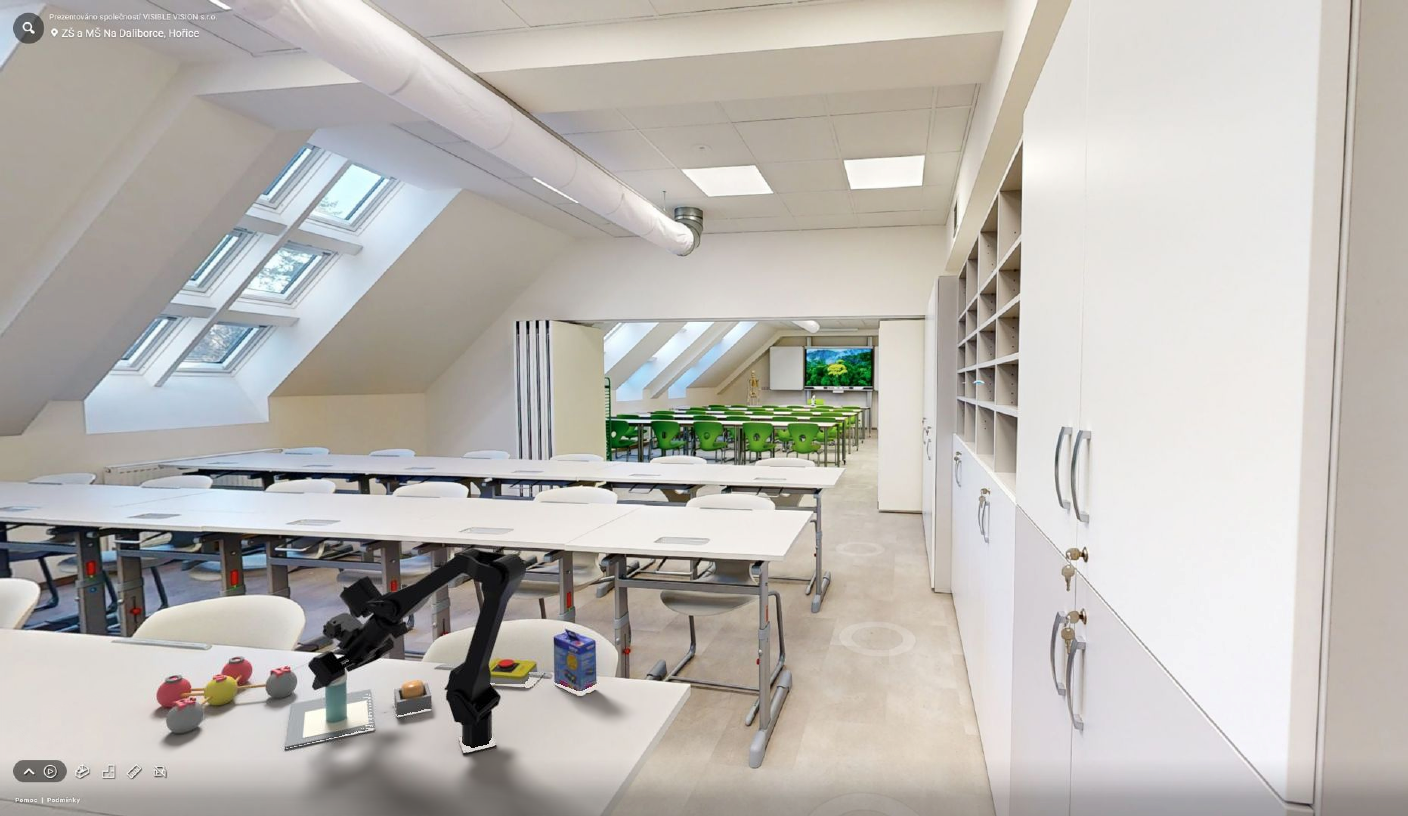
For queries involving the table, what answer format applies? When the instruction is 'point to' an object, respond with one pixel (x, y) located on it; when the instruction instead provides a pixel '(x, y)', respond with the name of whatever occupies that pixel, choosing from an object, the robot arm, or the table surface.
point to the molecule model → (216, 692)
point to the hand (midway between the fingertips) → (331, 678)
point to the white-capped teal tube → (336, 700)
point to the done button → (412, 689)
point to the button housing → (412, 701)
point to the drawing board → (312, 725)
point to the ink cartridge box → (574, 661)
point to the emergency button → (511, 671)
